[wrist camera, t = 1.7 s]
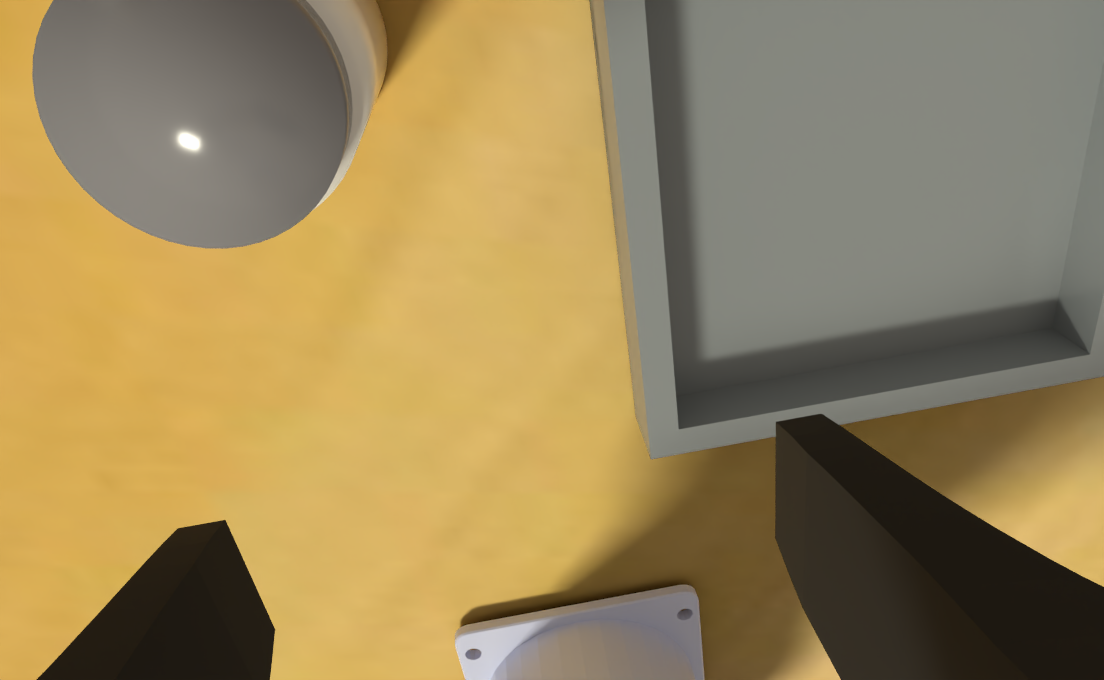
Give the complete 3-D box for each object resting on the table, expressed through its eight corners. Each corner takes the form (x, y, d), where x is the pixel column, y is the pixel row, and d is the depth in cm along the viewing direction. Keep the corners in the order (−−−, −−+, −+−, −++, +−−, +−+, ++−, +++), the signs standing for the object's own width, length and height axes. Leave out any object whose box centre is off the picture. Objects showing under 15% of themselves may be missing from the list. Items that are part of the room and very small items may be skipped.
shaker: (408, 128, 18) (388, 230, 13) (213, 162, 18) (103, 279, 12) (357, -94, 16) (303, -92, 10) (134, -56, 16) (-45, -34, 10)
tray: (1063, 338, 23) (1113, 374, 21) (635, 416, 23) (651, 459, 21) (1166, -174, 17) (1248, -183, 15) (580, -77, 16) (595, -74, 15)
